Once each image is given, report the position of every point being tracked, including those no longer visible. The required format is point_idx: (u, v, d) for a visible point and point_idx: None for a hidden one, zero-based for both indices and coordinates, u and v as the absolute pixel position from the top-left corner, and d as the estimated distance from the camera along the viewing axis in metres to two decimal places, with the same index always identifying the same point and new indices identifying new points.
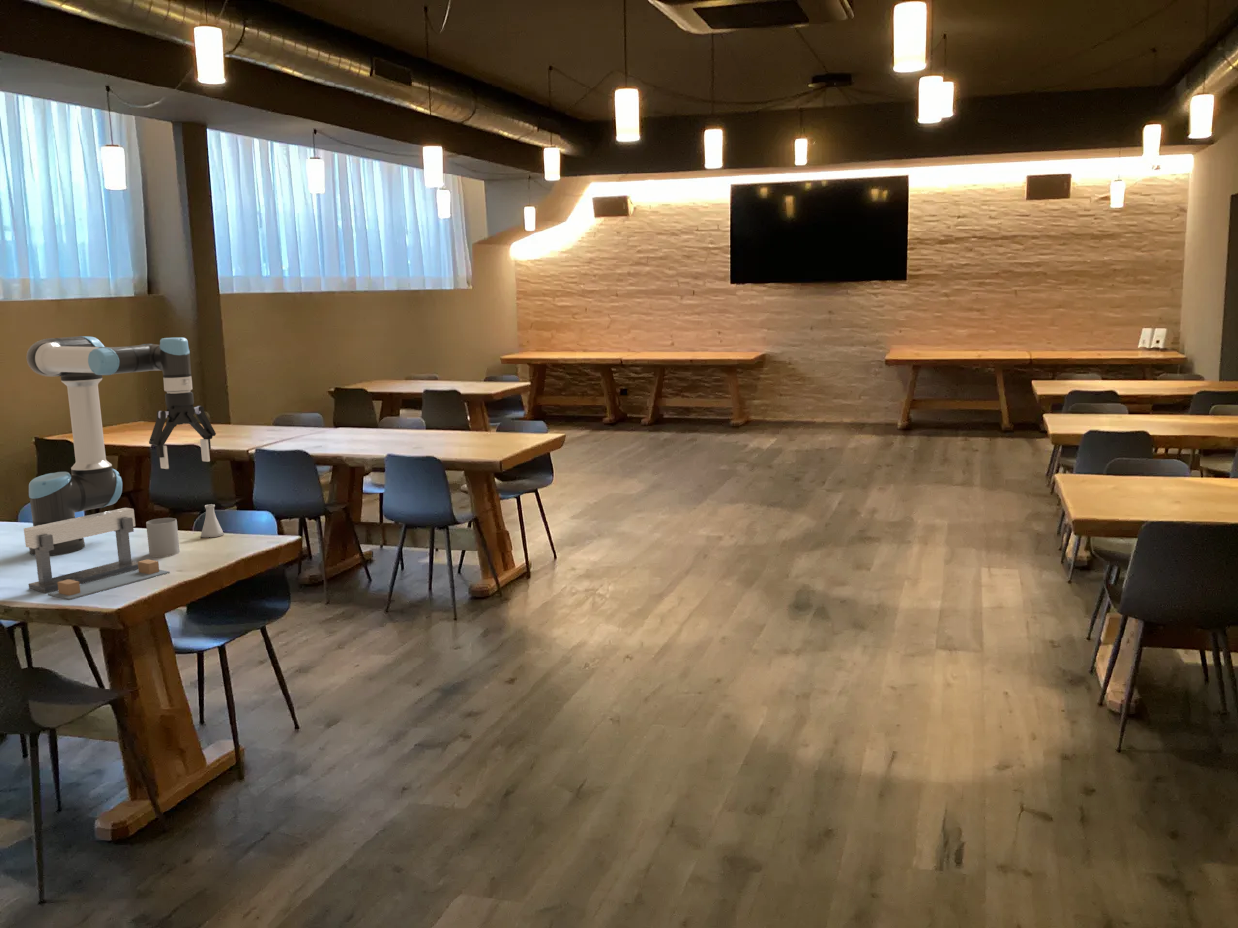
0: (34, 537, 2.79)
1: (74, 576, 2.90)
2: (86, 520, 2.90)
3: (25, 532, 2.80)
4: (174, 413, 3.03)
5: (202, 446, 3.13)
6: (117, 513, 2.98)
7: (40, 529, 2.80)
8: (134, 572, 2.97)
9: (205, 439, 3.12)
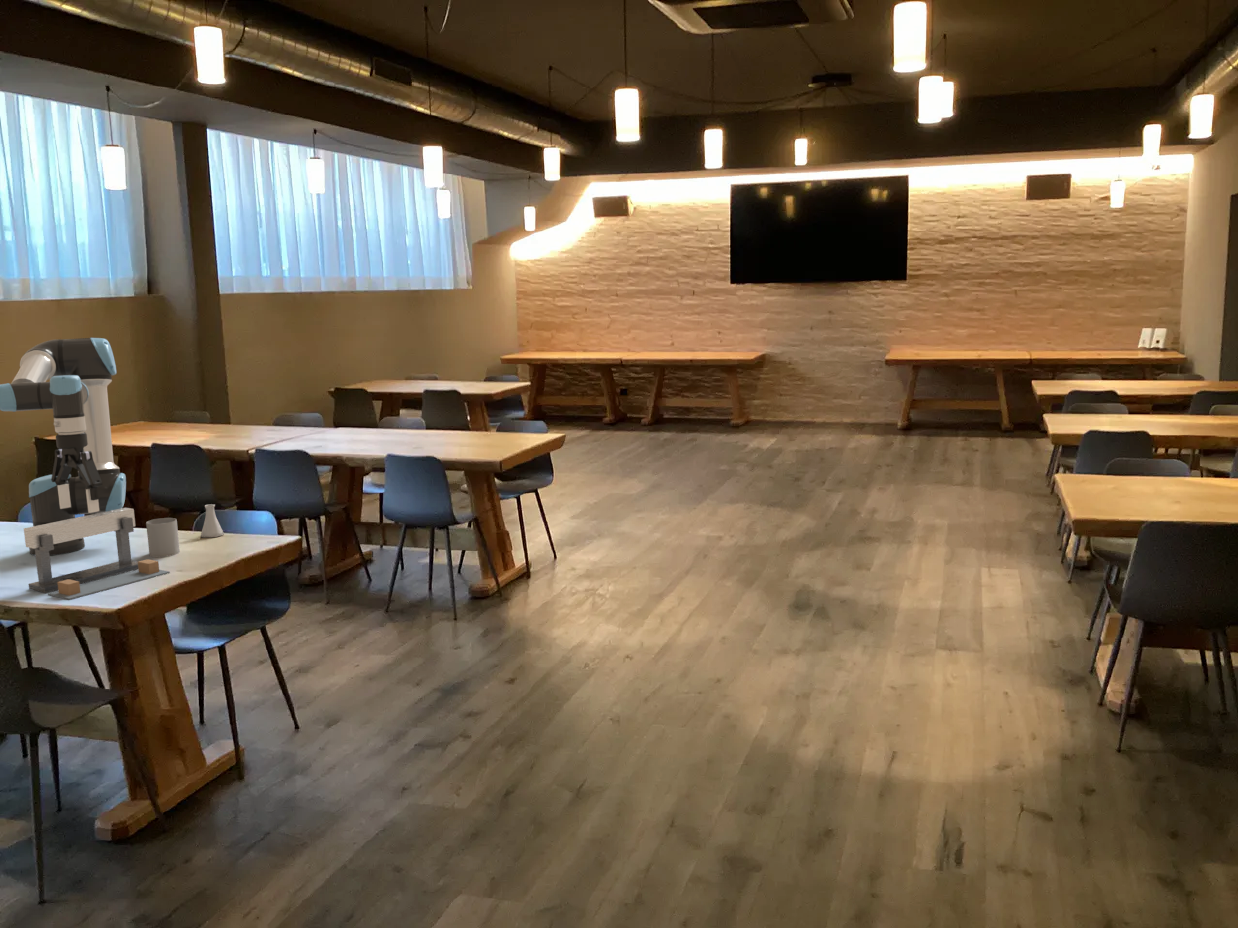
0: (34, 537, 2.79)
1: (74, 576, 2.90)
2: (86, 520, 2.90)
3: (25, 532, 2.80)
4: (63, 454, 2.89)
5: None
6: (117, 513, 2.98)
7: (40, 529, 2.80)
8: (134, 572, 2.97)
9: None
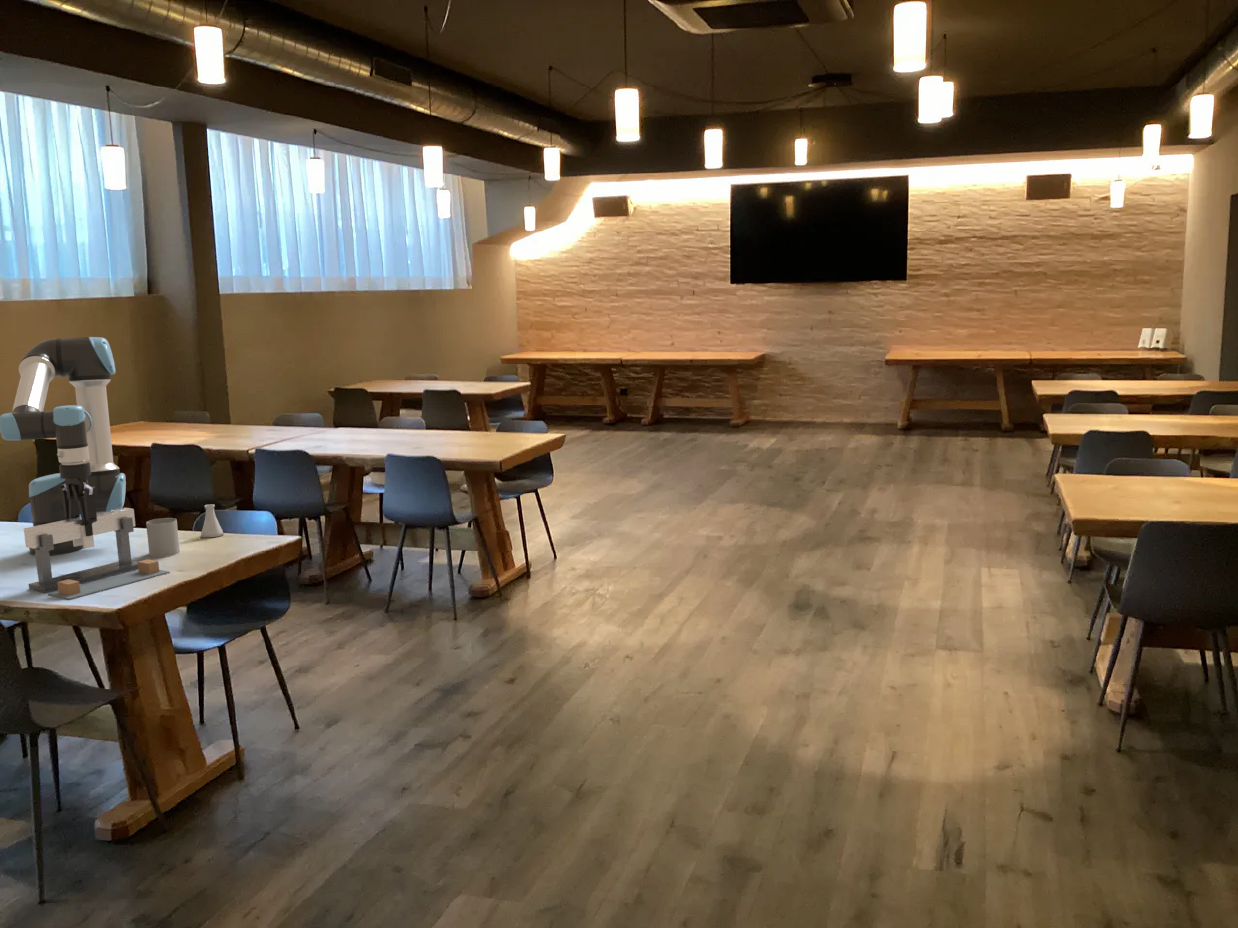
0: (34, 537, 2.79)
1: (74, 576, 2.90)
2: None
3: (25, 532, 2.80)
4: (67, 483, 2.90)
5: None
6: (117, 513, 2.98)
7: (40, 529, 2.80)
8: (134, 572, 2.97)
9: None
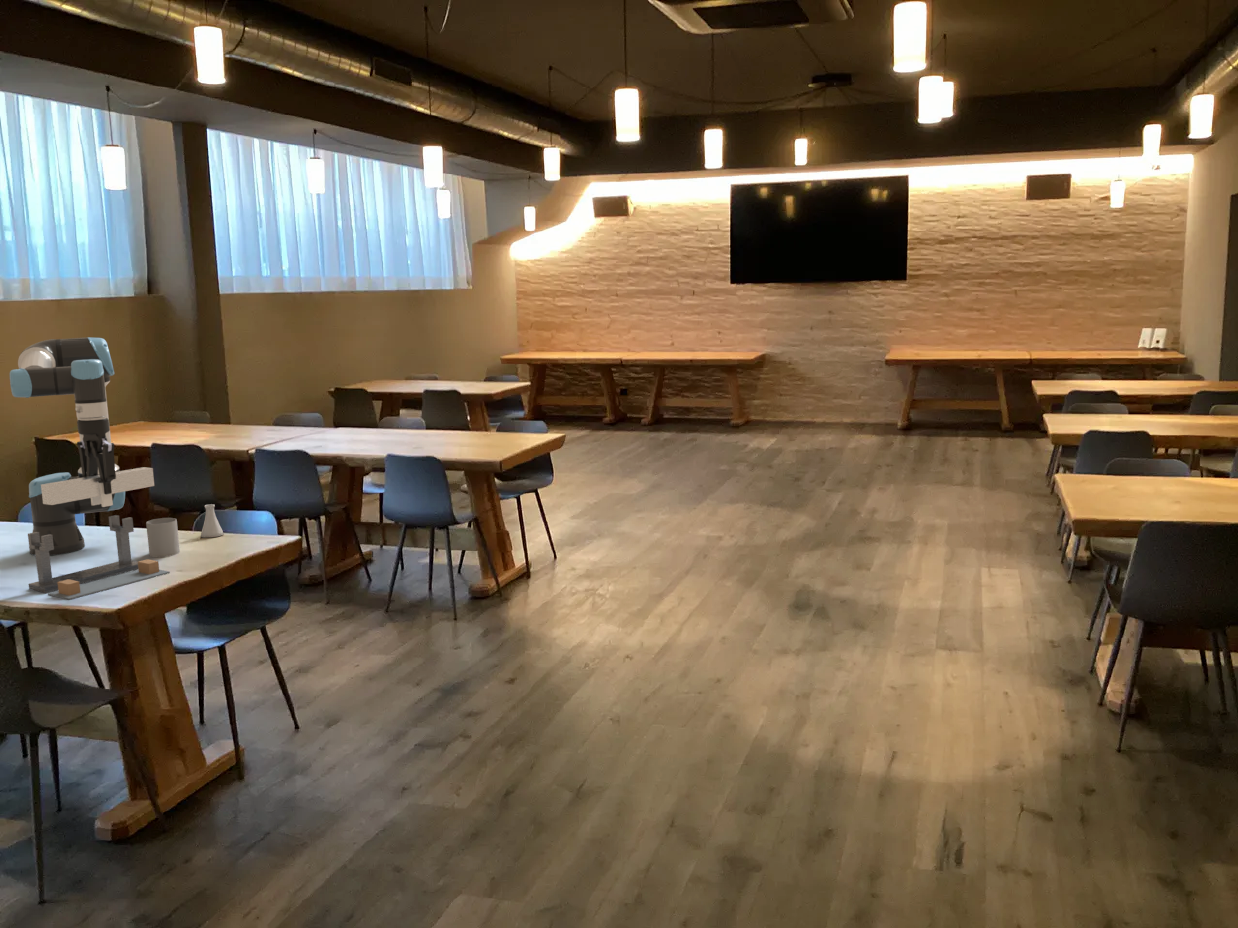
0: (52, 493, 2.71)
1: (74, 576, 2.90)
2: None
3: (42, 488, 2.72)
4: (85, 440, 2.82)
5: None
6: (136, 472, 2.90)
7: (58, 485, 2.72)
8: (134, 572, 2.97)
9: None
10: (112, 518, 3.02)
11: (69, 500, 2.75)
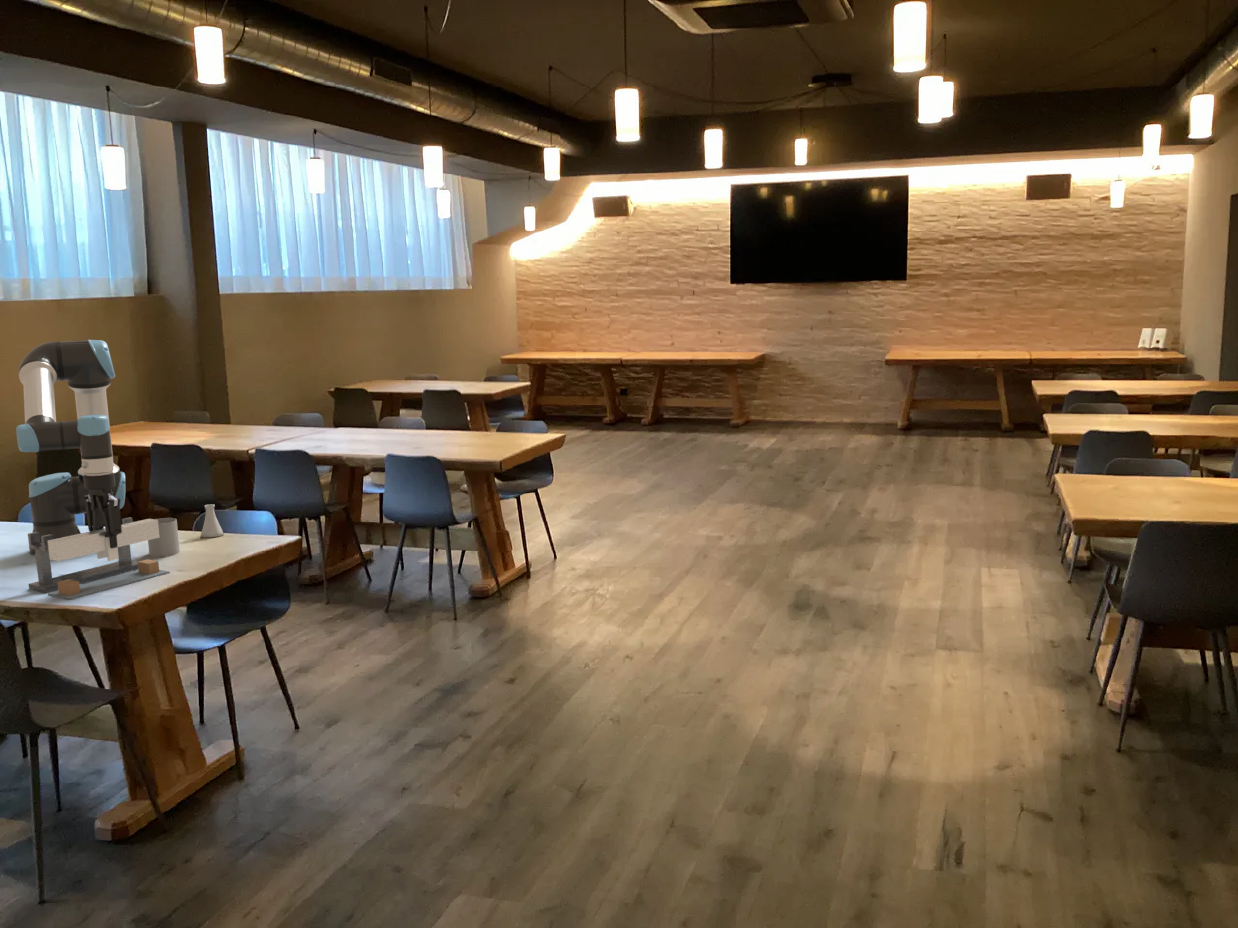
0: (59, 549, 2.73)
1: (74, 576, 2.90)
2: None
3: (49, 544, 2.74)
4: (91, 494, 2.84)
5: None
6: (141, 524, 2.92)
7: (64, 541, 2.74)
8: (134, 572, 2.97)
9: None
10: None
11: (75, 555, 2.77)
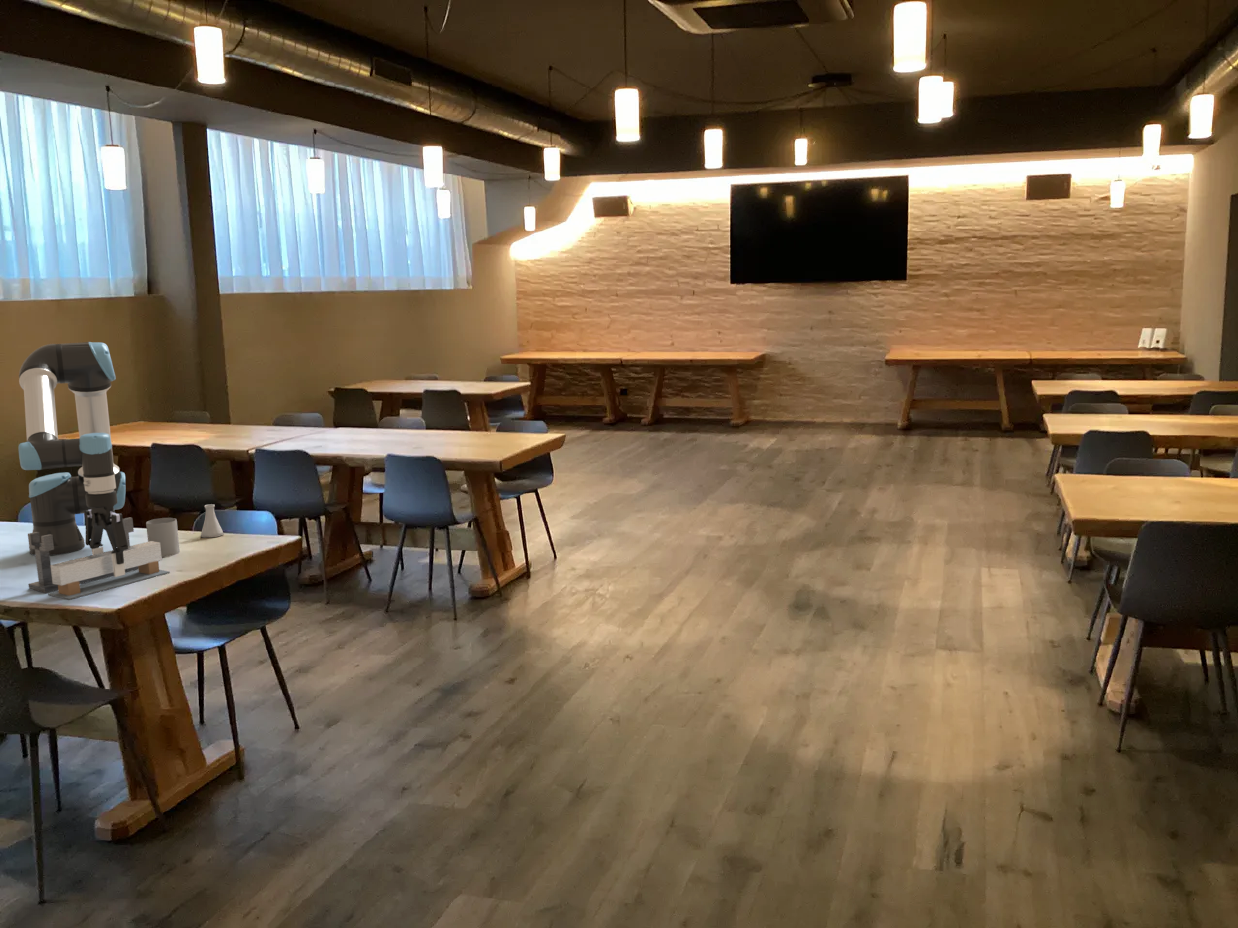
0: (62, 574, 2.74)
1: None
2: None
3: (52, 569, 2.76)
4: (93, 512, 2.85)
5: None
6: (144, 547, 2.94)
7: (67, 566, 2.75)
8: (134, 572, 2.97)
9: None
10: None
11: (78, 579, 2.78)
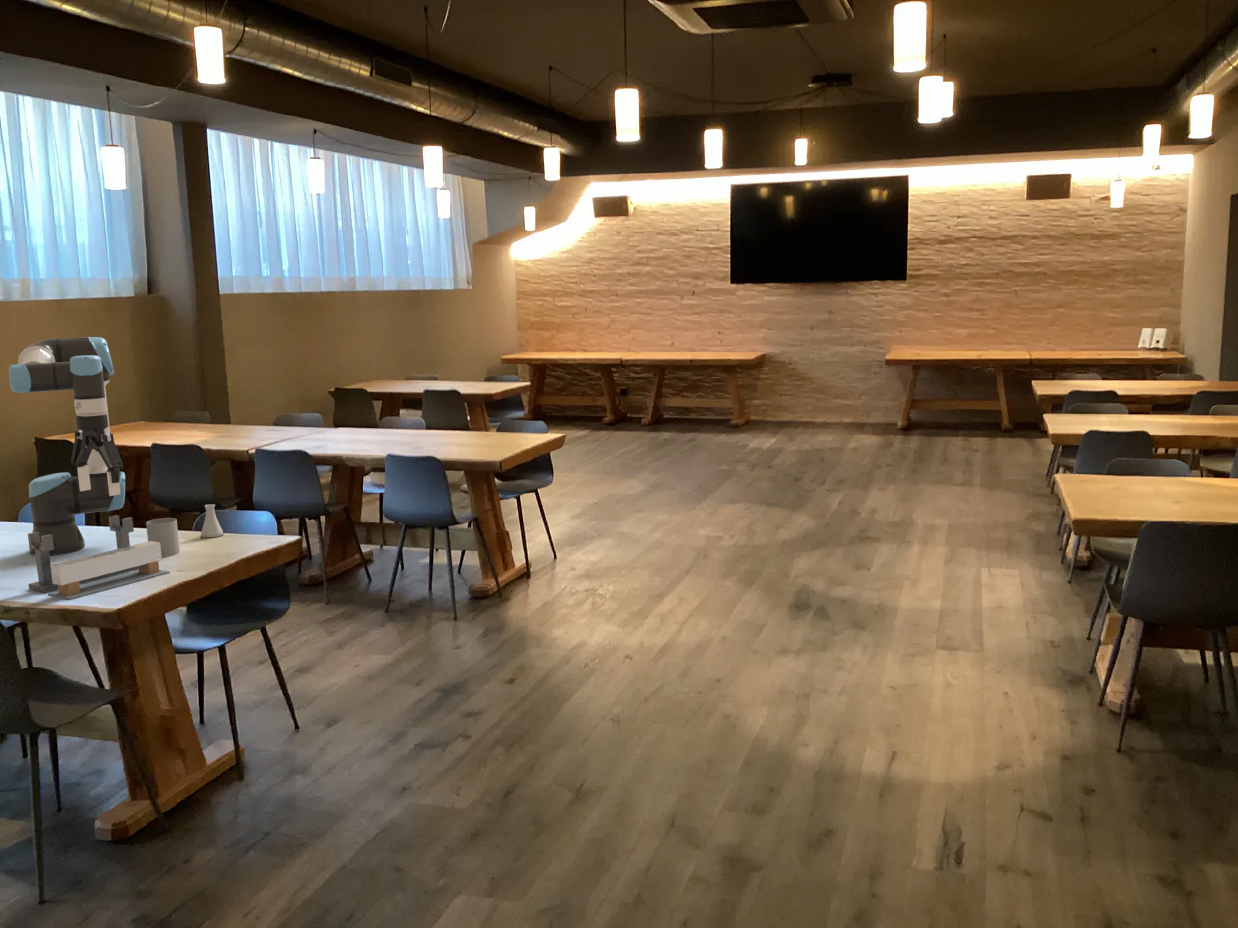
0: (62, 574, 2.74)
1: None
2: (113, 555, 2.86)
3: (52, 569, 2.76)
4: (83, 436, 2.83)
5: None
6: (144, 547, 2.94)
7: (67, 566, 2.75)
8: (134, 572, 2.97)
9: None
10: (112, 518, 3.02)
11: (78, 579, 2.78)
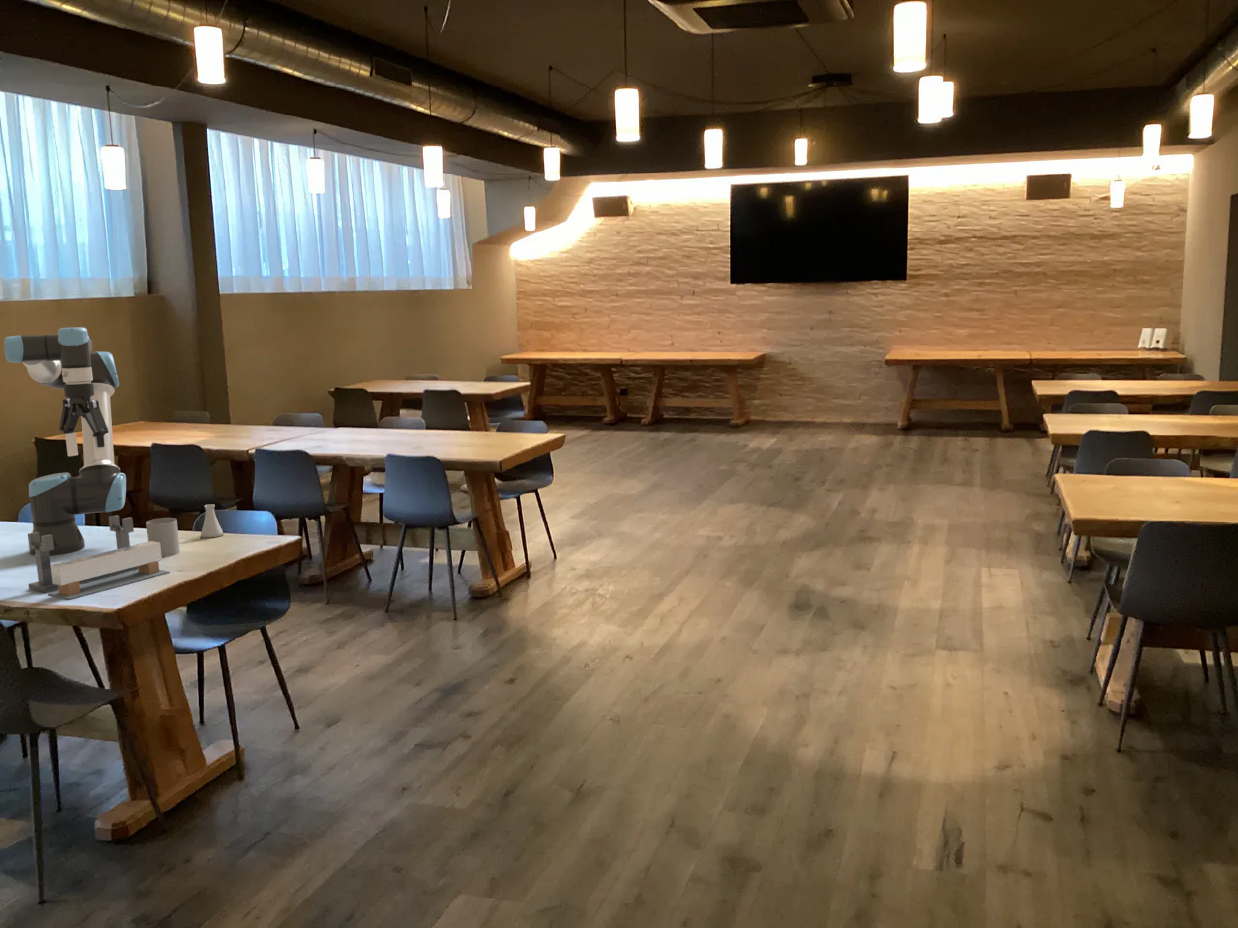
0: (62, 574, 2.74)
1: None
2: (113, 555, 2.86)
3: (52, 569, 2.76)
4: (71, 403, 3.01)
5: None
6: (144, 547, 2.94)
7: (67, 566, 2.75)
8: (134, 572, 2.97)
9: None
10: (112, 518, 3.02)
11: (78, 579, 2.78)
